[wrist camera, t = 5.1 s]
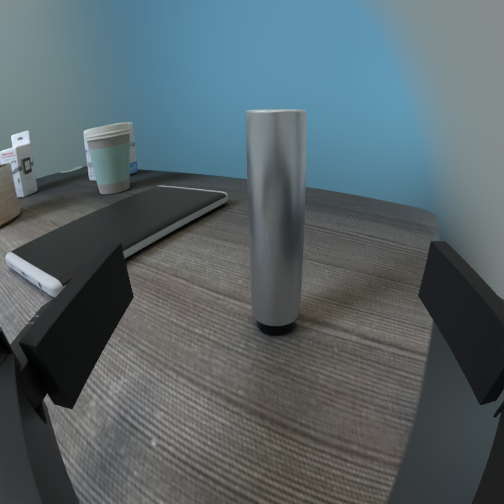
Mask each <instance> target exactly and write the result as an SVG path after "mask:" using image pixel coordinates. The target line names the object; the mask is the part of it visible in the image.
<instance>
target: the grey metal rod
mask: <svg viewBox="0 0 504 504" xmlns="http://www.w3.org/2000/svg"><path fill="white" fill-rule="evenodd" d="M246 141H247V143H246V144H247V173H248V174H247V175H248V207H249V238H250V269H251V299H252V314H253V316H254V318H255V319H256V320H257V326H258V328H259V330H260V331H262V332H263V333H265V334H268V335H273V336H279V335H284V334H286V333H288V332H290V331H291V330H292V328H293V327H294V321H295V320H296V319H297V317H298V316H299V313H300V300H301V284H302V267H303V246H304V222H305V190H306V111H305V110H287V109H273V110H272V109H271V110H270V109H269V110H268V109H266V110H247V111H246Z"/></svg>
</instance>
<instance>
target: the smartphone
mask: <svg viewBox="0 0 504 504" xmlns="http://www.w3.org/2000/svg"><path fill="white" fill-rule="evenodd" d="M227 201H228V195H227V193H225V192H220V191H211V190H201V189H191V188H181V187H171V186H156V187H153V188H151V189H148V190H146V191H143V192H141V193H138V194H136V195H133V196H131V197H128V198H126V199H123V200H121V201H118V202H116V203H114V204H111V205H109V206H106V207H104V208H102V209H99V210H97V211H95V212H93V213H90V214H88V215H86V216H83V217H81V218H79V219H77V220H75V221H72V222H70V223H68V224H66V225H64V226H62V227H60V228H57V229H55V230H53V231H51V232H49V233H47V234H45V235H43V236H41V237H39V238H37V239H35V240H33V241H31V242H29V243H27V244H25V245H23V246H21V247H19V248H17V249H15V250H13V251H11V252H10V253H8V254H7V256H6V261H7V264H8V266H10V267H11V268H12V269H14V270H15V271H16V272H18V273H19V274H20V275H22V276H23V277H25V278H26V279H27V280H29V281H30V282H32V283H33V284H35V285H36V286H37V287H39V288H40V289H42V290H43V291H45V292H46V293H48V294H49V295H51V296H52V297H56V296H57V295H58V294H59V293H60V292H61V291H62V289H63V288H64V287H65V286H66V285H67V284H68V283H69V282H70V280H71V279H72V278H73V277H74V276H75V275H76V274H77V273H78V272H79V271H80V270H81V268H82V267H83V266H84V265H85V264H86V263H87V262H88V261H89V260H90V259H91V258H92V257H93V256H94V255H95V254H96V253H97V252H98V251H99V250H100V248H101V247H102V246H103V245H104V244H105V243H121V244H122V248H123V253H124V258H127V257H129V256H130V255H132V254H134V253H136V252H137V251H139V250H141V249H142V248H144V247H146V246H148V245H149V244H151V243H153V242H155V241H156V240H158V239H160V238H162V237H164V236H165V235H167V234H169V233H171V232H172V231H174V230H176V229H178V228H180V227H181V226H183V225H185V224H187V223H189V222H191V221H192V220H194V219H196V218H198V217H200V216H202V215H203V214H205V213H207V212H209V211H211V210H213V209H215V208H217V207H218V206H220V205H222V204H224V203H226V202H227Z"/></svg>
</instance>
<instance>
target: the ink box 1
mask: <svg viewBox="0 0 504 504" xmlns="http://www.w3.org/2000/svg"><path fill="white" fill-rule="evenodd" d="M19 137H23V140H19V141H18V138H19ZM11 139H12V145H13V148H9V149H6V150H3V151H0V161H1V165H2V164H6V163H11V168H12V174H13V179H14V184H15V189H16V193H17V197H25V196H28V195H30V194H32V193H34V192H36V191H38V189H37V183H36V178H35V172H34V165H33V158H32V151H31V144H30V137H29V131H25V132H21V133H18V134H15V135H12V136H11Z"/></svg>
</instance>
